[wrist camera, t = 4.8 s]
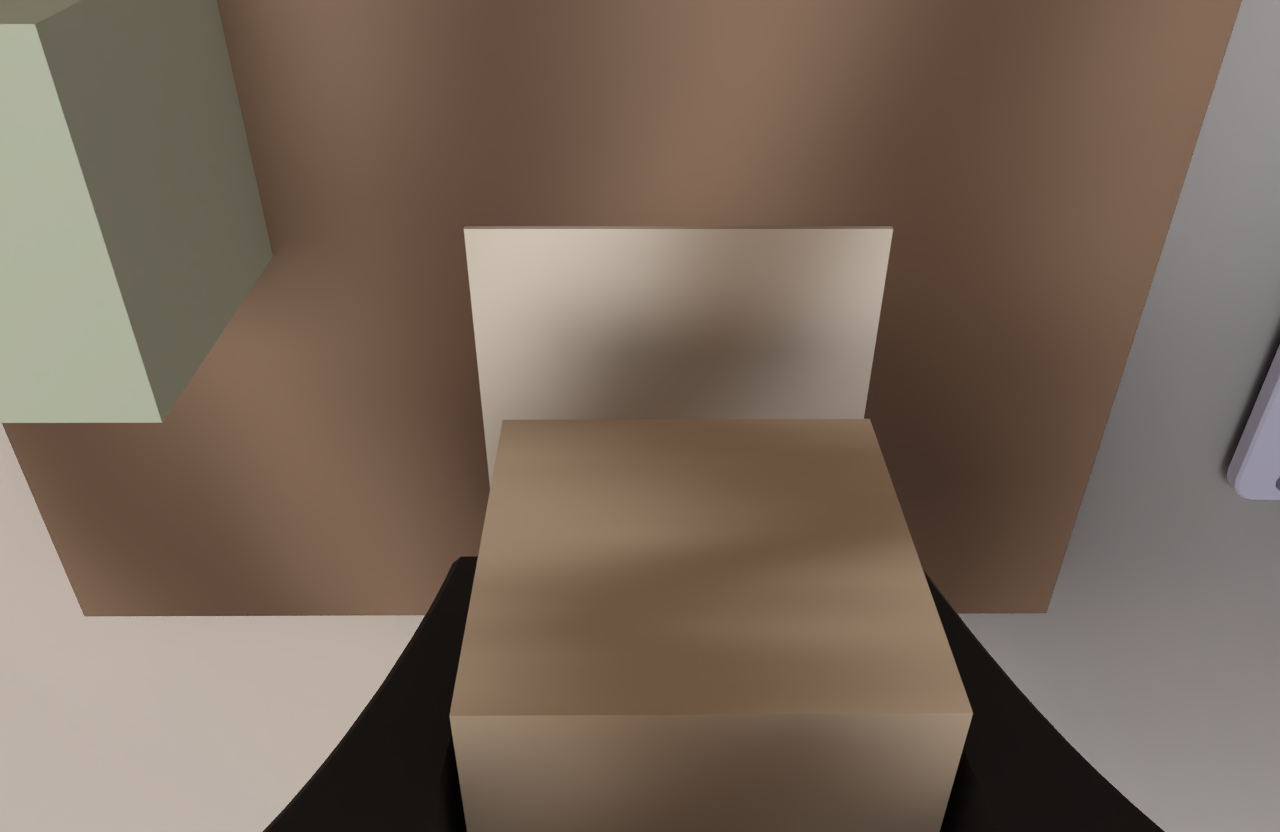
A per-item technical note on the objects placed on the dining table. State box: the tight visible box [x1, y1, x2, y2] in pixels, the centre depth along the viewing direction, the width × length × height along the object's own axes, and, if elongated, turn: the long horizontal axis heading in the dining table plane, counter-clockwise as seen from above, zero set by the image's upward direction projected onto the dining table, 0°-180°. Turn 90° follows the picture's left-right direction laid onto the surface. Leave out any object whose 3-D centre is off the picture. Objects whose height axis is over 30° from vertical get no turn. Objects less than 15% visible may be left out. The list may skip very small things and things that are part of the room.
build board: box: [2, 0, 1242, 616], centre depth 15 cm, size 19×20×1 cm
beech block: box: [449, 419, 973, 832], centre depth 12 cm, size 4×4×4 cm
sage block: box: [0, 0, 273, 423], centre depth 13 cm, size 4×4×4 cm
